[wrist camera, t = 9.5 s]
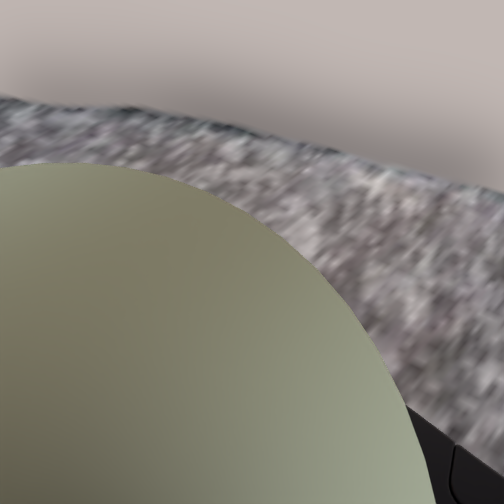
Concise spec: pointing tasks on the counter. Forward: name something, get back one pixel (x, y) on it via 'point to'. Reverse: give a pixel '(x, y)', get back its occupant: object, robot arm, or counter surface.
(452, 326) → the counter surface
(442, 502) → the robot arm
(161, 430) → the post
